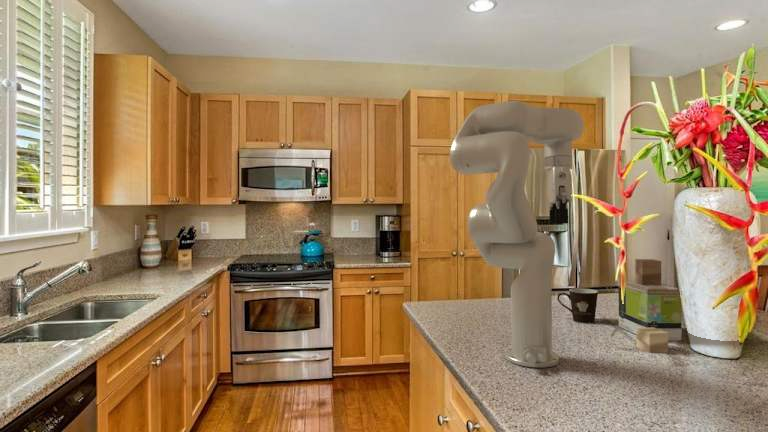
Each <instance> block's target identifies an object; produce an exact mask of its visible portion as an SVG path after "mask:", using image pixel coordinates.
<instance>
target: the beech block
mask: <svg viewBox="0 0 768 432" xmlns="http://www.w3.org/2000/svg"><path fill="white" fill-rule="evenodd" d="M635 335H636V336H635V337H636V339H635V341H636V344H635V345H636V346H635V347H637V348H639V349H641V350H644V351H645V352H646V353H647V352H648V353H668V352H669V341H668V333H667V332H665V331H662V330H659V329H657V328H654V327H651V328H636V334H635Z"/></svg>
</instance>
